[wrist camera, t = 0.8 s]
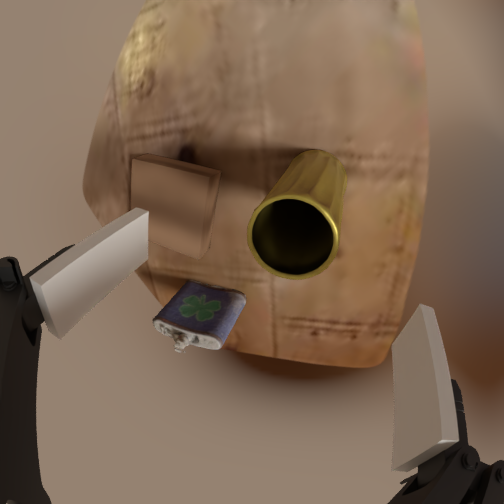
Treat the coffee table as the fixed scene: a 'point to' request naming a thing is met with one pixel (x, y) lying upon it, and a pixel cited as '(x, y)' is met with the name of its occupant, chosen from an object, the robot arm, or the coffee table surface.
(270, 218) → the vase
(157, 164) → the plinth
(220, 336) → the flask
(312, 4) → the coffee table surface
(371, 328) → the coffee table surface
